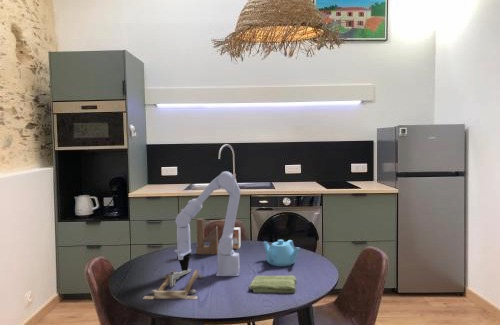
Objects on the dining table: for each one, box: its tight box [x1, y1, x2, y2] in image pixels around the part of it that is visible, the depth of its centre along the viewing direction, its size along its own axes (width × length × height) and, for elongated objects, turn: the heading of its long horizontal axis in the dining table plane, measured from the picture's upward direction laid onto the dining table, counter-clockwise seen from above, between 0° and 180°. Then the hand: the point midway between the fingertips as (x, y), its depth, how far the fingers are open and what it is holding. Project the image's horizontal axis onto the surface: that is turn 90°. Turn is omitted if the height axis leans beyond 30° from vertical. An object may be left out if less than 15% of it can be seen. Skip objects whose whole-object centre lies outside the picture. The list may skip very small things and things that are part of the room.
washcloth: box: [249, 274, 297, 294], centre depth 148 cm, size 13×18×3 cm
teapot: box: [262, 239, 301, 268], centre depth 177 cm, size 15×15×11 cm
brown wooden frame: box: [195, 217, 219, 256], centre depth 193 cm, size 4×11×18 cm, turn 84°
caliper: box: [169, 268, 192, 288], centre depth 159 cm, size 20×1×6 cm, turn 167°
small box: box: [232, 226, 242, 250], centre depth 204 cm, size 8×6×10 cm
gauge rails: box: [142, 269, 204, 300], centre depth 152 cm, size 20×27×2 cm
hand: (184, 271), depth 164 cm, fingers closed
